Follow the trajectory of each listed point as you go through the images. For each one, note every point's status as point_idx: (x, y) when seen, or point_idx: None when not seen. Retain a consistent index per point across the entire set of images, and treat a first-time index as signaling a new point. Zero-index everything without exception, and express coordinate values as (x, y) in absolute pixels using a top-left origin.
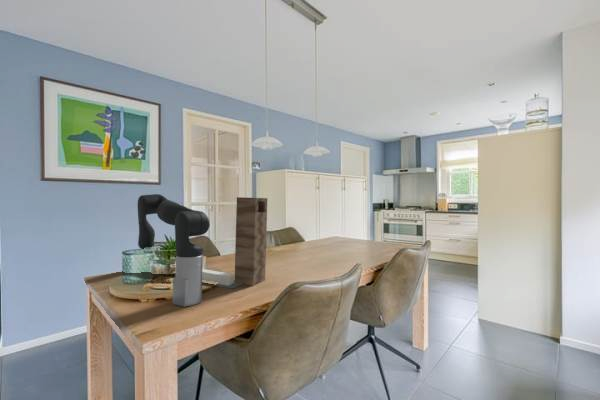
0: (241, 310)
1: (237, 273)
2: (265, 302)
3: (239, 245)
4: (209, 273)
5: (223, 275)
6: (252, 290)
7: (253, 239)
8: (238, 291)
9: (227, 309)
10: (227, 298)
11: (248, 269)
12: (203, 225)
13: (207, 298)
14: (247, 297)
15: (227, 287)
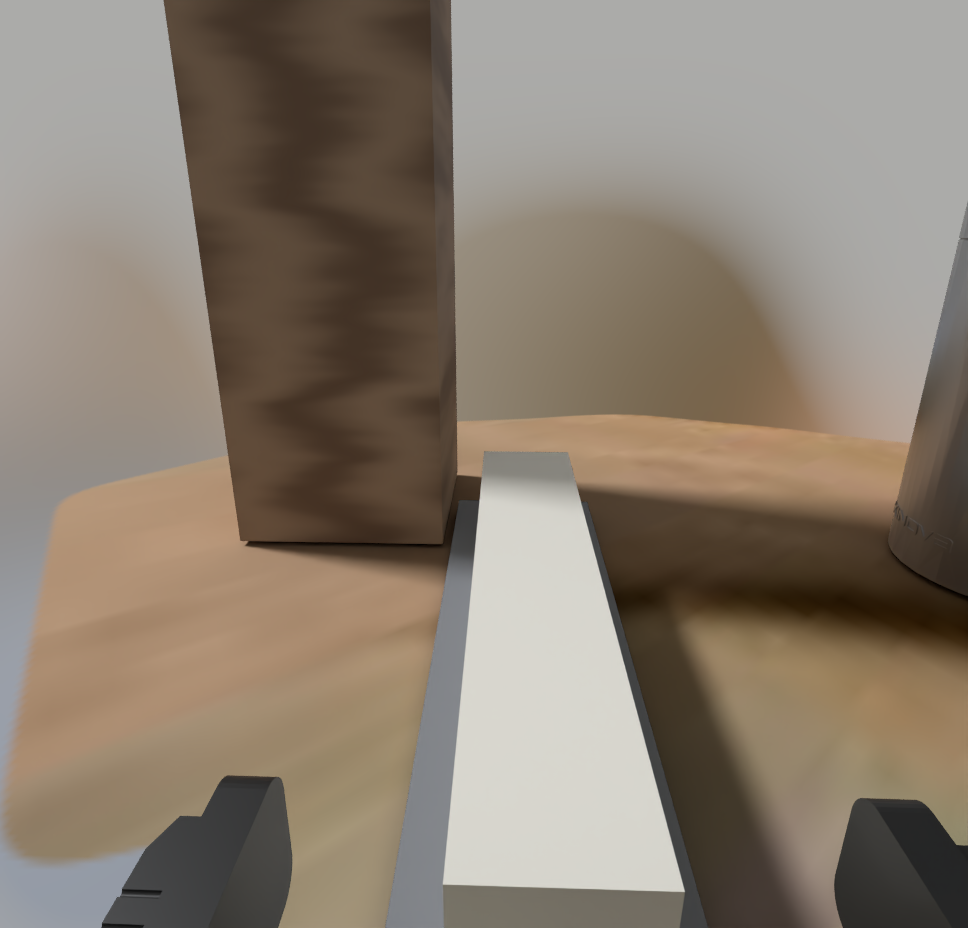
0: (769, 428)
1: (443, 450)
2: (629, 415)
3: (438, 166)
4: (594, 559)
5: (569, 473)
6: None
7: (451, 106)
8: (591, 487)
9: (816, 449)
10: (727, 482)
11: (452, 372)
12: None
13: (836, 530)
14: (635, 449)
15: (592, 523)
